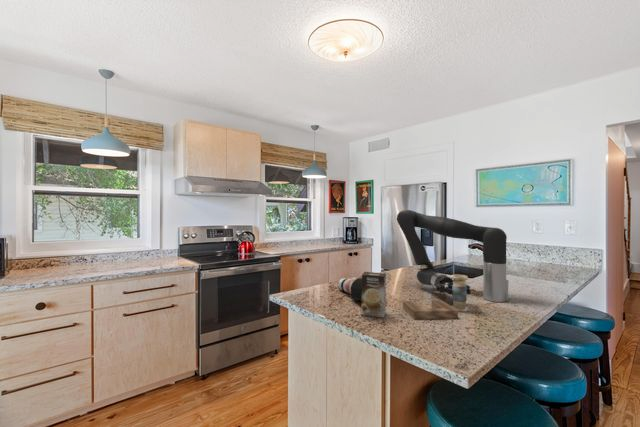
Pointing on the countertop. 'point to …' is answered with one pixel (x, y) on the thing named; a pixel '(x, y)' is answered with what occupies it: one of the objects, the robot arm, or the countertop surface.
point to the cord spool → (459, 292)
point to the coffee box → (373, 294)
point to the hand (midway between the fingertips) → (460, 292)
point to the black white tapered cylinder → (352, 287)
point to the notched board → (430, 310)
